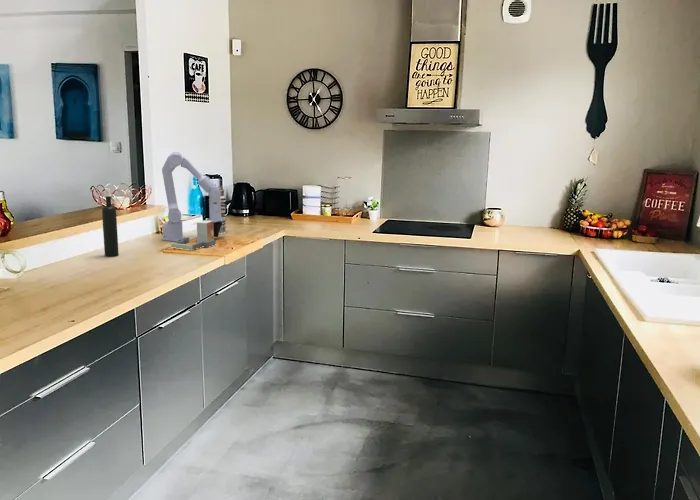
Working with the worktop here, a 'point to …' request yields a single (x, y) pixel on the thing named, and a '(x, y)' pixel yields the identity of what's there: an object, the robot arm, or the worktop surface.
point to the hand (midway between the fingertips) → (215, 236)
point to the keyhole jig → (183, 241)
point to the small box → (205, 231)
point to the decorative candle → (222, 211)
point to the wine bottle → (110, 227)
